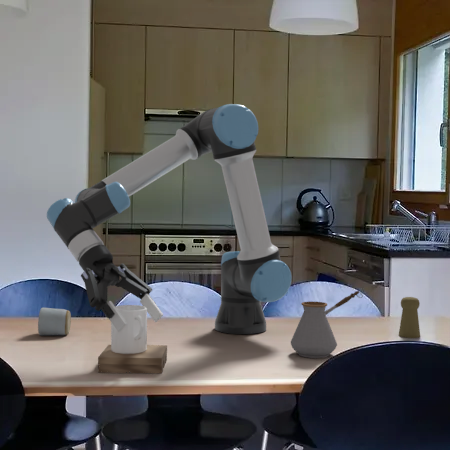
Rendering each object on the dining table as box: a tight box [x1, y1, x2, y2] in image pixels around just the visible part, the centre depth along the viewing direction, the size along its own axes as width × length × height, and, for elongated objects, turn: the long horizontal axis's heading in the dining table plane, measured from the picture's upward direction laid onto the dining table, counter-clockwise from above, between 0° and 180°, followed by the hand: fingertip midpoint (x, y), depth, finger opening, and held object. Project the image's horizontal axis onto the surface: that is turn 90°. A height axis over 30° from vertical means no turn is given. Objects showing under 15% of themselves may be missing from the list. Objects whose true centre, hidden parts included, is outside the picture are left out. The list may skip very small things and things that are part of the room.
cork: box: [398, 296, 421, 339], centre depth 198 cm, size 6×6×11 cm
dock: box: [97, 344, 168, 374], centre depth 160 cm, size 14×13×4 cm
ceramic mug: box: [37, 307, 72, 336], centre depth 196 cm, size 11×8×8 cm
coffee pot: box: [290, 290, 363, 359], centre depth 176 cm, size 21×12×15 cm, turn 123°
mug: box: [110, 304, 148, 354], centre depth 158 cm, size 8×12×10 cm
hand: (141, 323), depth 158 cm, fingers open, 13 cm apart
